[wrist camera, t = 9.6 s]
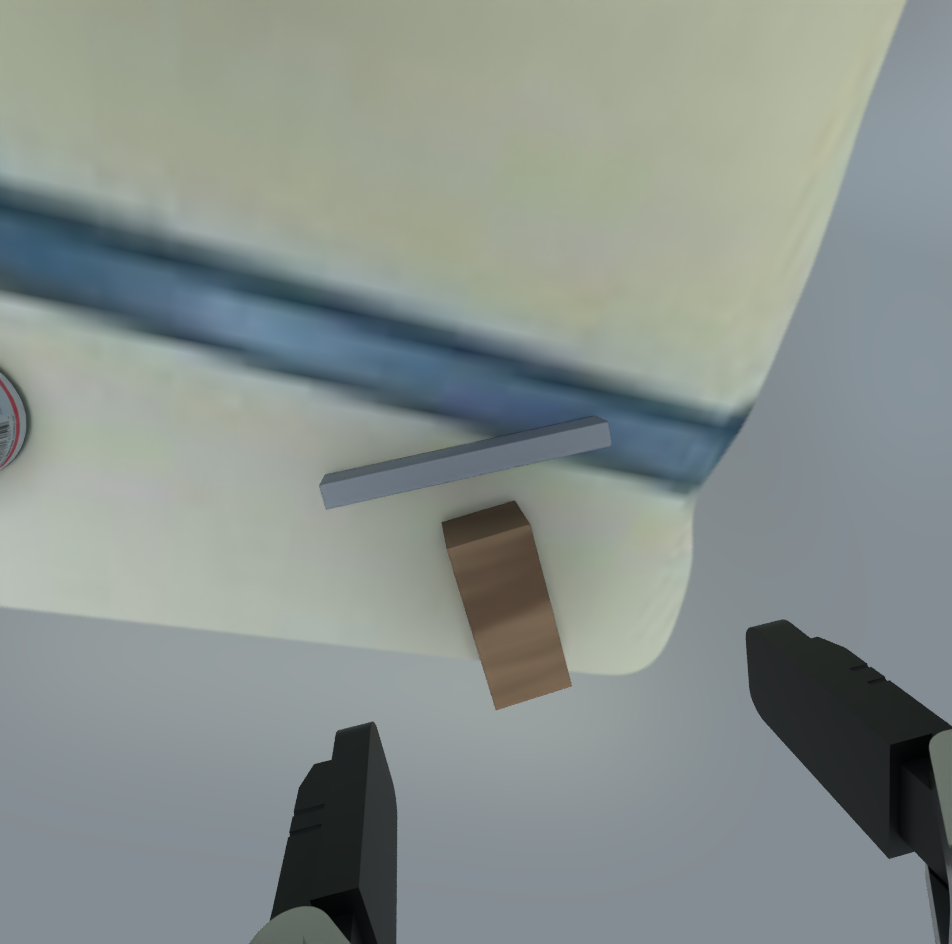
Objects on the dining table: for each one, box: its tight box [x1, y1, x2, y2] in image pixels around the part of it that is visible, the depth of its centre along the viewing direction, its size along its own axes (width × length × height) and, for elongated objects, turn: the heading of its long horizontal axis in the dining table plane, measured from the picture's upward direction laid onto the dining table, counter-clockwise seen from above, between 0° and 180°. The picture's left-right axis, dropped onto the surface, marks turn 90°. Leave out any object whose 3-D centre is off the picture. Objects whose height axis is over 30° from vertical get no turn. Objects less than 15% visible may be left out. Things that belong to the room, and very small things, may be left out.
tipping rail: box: [319, 416, 611, 509], centre depth 28 cm, size 1×14×2 cm, turn 101°
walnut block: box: [442, 501, 572, 710], centre depth 30 cm, size 4×4×9 cm
